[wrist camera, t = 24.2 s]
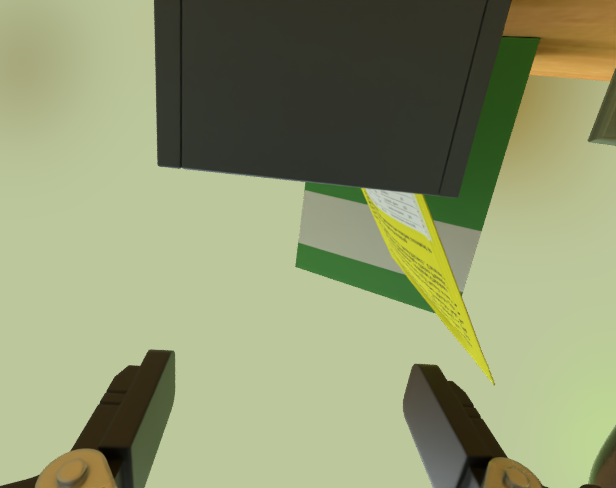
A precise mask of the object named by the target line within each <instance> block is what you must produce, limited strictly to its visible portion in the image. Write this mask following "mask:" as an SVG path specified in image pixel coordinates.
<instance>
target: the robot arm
mask: <svg viewBox="0 0 616 488" xmlns="http://www.w3.org/2000/svg"><path fill="white" fill-rule="evenodd" d="M174 395H175V353H174V351H168V350H167V351H166V350H149V351H148V352H147V354H146V356H145V358H144V360H143V362H142V364H141V366H132V365H129V366H128V367H126V368H125V369H124V370H123V371H121V372H120V373H119V374H118V375H116V376H115V377H114V379H113V381H112V382H111V384H110V386H109V388H108V389H107V392H106V393H105V394H104V396H103V398H102V399H101V401H100V404H99V405H98V406H97V408H96V409H95V411H94V413H93V414H92V416H91V418H90V420H89V421H88V423H87V425H86V426H85V428H84V430H83V431H82V433H81V434H80V436H79V438H78V439H77V441H76V443H75V445H74V446H73V448H72V449H71V451H70V452H68V453H66V454H64V455H62V456H60V457H58V458H57V459H55V460H54V461H52V462H51V463H50V464H49V465H48V466H47V467H46V468H45V469H44V470H43V471H42V473H41V474H40V475H38V476H35V477H33V478H29V479H26V480H22V481H19V482H14V483H10V484H6V485H3V486H0V488H144V487H145V484H146V481H147V479H148V476H149V473H150V470H151V467H152V464H153V461H154V459H155V455H156V453H157V450H158V447H159V444H160V441H161V438H162V436H163V433H164V430H165V427H166V424H167V421H168V418H169V415H170V412H171V409H172V406H173V402H174ZM403 412H404V416H405V419H406V422H407V424H408V427H409V429H410V432H411V434H412V437H413V439H414V442H415V444H416V447H417V449H418V451H419V454H420V456H421V459H422V462H423V464H424V466H425V469H426V471H427V474H428V476H429V479H430V481H431V484H432V486H433V488H548V487H545V486H543V485H542V484H541V482H540V481H539V479H538V478H537V477H536V476H535V475H534V474H533V473H532V472H531V471H530V470H529V469H528V468H526V467H525V466H523V465H522V464H520V463H518V462H516V461H514V460H511V459H509V458H508V457H507V456H506V454H505V453H504V451H503V450H502V448H501V447H500V445H499V444H498V442H497V441H496V439H495V437H494V436H493V434H492V433H491V431H490V430H489V428H488V427H487V425H486V424H485V422H484V420H483V419H481V416H480V414H479V413H478V411H477V410H476V408H474V405H473V403H472V402H471V400H470V399H469V397H468V396H467V394H466V393H465V392H464V391H463V390H462V389H461V388H460V387H459V386H457V385H456V384H455V383H454V382H453V381H447V379H446V378H445V376H444V375H443V373H442V372H441V370H440V368H439V367H438V366H437V365H428V364H414V365H413V367H412V369H411V373H410V377H409V380H408V384H407V387H406V392H405V395H404V399H403ZM580 488H616V425H615V427H614V429H613V430H612V432H611V433H610V435H609V436H608V438H607V439H606V441H605V443H604V445H603V446H602V448H601V450H600V451H599V454H598V455H597V457H596V459H595V461H594V464H593V467H592V470H591V473H590V477H589V483H588V484H586V485H583V486H581V487H580Z"/></svg>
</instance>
